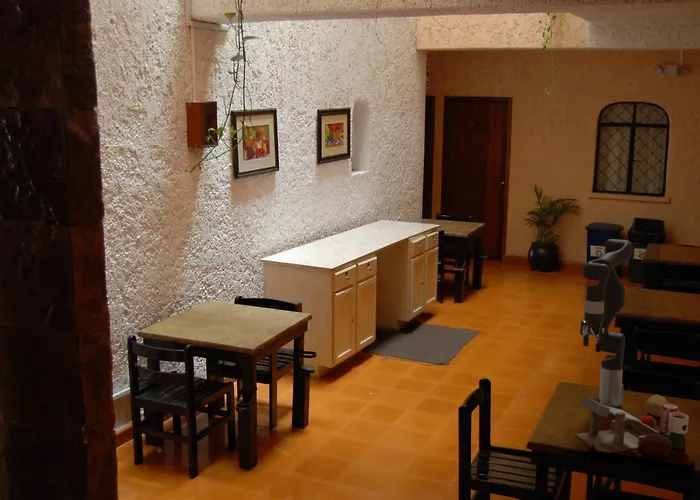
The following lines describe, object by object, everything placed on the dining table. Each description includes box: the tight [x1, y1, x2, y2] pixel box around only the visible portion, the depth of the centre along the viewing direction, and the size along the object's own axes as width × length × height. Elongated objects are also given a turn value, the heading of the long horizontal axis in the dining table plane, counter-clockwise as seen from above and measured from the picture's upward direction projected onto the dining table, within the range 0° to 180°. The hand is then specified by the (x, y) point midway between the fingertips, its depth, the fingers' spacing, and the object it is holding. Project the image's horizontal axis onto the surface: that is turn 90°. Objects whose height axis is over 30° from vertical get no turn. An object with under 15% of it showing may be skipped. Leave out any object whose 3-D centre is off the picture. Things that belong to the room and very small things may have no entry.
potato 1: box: [644, 394, 669, 418], centre depth 329 cm, size 10×14×8 cm
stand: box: [574, 397, 660, 454], centre depth 302 cm, size 26×18×15 cm
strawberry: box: [636, 415, 660, 430], centre depth 314 cm, size 6×8×10 cm
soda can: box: [659, 402, 680, 437], centre depth 309 cm, size 7×7×12 cm
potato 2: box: [640, 433, 674, 457], centre depth 289 cm, size 12×11×8 cm
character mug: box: [668, 412, 690, 450], centre depth 296 cm, size 11×7×13 cm, turn 142°
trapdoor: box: [581, 396, 642, 423], centre depth 300 cm, size 20×13×4 cm, turn 107°
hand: (591, 348), depth 315 cm, fingers open, 8 cm apart
